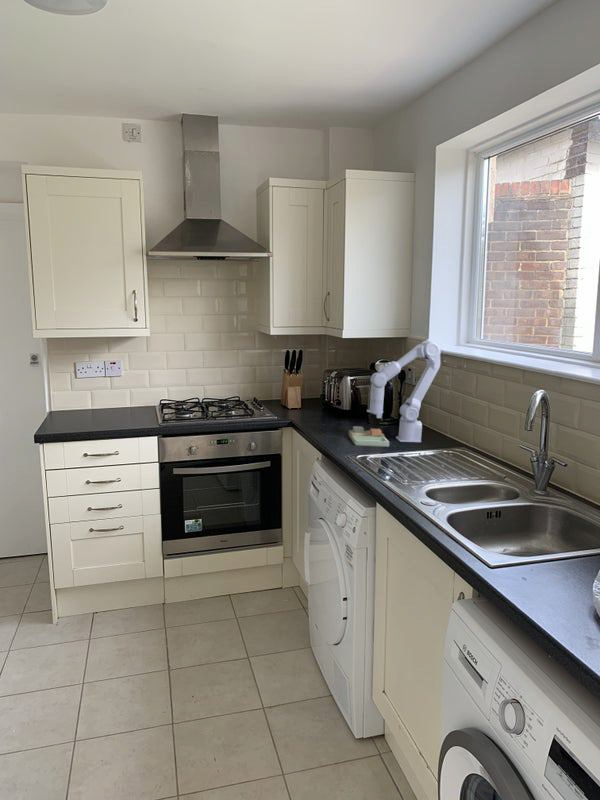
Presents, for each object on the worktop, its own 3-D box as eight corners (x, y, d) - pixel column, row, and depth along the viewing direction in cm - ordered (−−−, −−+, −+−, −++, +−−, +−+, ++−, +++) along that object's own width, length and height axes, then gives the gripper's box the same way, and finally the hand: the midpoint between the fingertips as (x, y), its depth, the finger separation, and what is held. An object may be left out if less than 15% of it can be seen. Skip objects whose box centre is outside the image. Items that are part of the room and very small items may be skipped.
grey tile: (361, 431, 267) (362, 426, 266) (363, 433, 263) (363, 428, 262) (352, 430, 266) (353, 426, 266) (354, 432, 262) (354, 428, 262)
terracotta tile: (379, 433, 263) (379, 428, 263) (381, 435, 260) (381, 431, 259) (370, 433, 263) (370, 428, 263) (371, 435, 259) (372, 430, 259)
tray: (384, 441, 260) (384, 436, 260) (389, 446, 252) (389, 441, 251) (351, 440, 259) (352, 435, 259) (355, 445, 250) (356, 440, 250)
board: (379, 436, 269) (380, 431, 268) (383, 441, 261) (384, 435, 260) (348, 435, 267) (349, 430, 267) (351, 439, 260) (352, 434, 259)
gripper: (364, 397, 269) (362, 427, 271) (371, 403, 254) (368, 434, 257) (380, 397, 269) (377, 427, 272) (387, 403, 255) (385, 435, 257)
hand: (374, 431), depth 264 cm, fingers closed
